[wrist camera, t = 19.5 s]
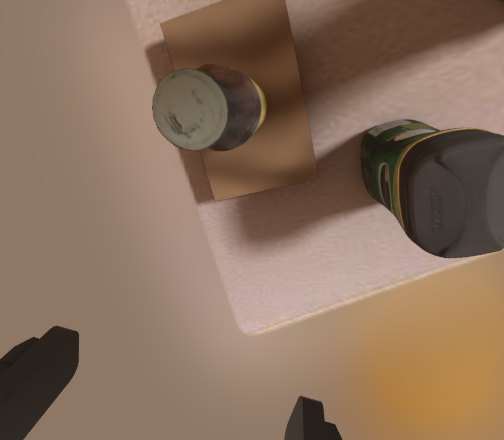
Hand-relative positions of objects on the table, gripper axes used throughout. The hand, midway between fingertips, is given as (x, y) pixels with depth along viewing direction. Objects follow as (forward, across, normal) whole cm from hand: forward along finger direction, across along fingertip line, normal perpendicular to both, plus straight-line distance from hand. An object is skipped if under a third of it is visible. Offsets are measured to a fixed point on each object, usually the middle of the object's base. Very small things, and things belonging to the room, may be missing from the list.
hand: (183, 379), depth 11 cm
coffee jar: (+32, -15, -6) cm, 36 cm away
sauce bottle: (+28, +4, -8) cm, 30 cm away
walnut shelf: (+32, +4, -8) cm, 33 cm away
